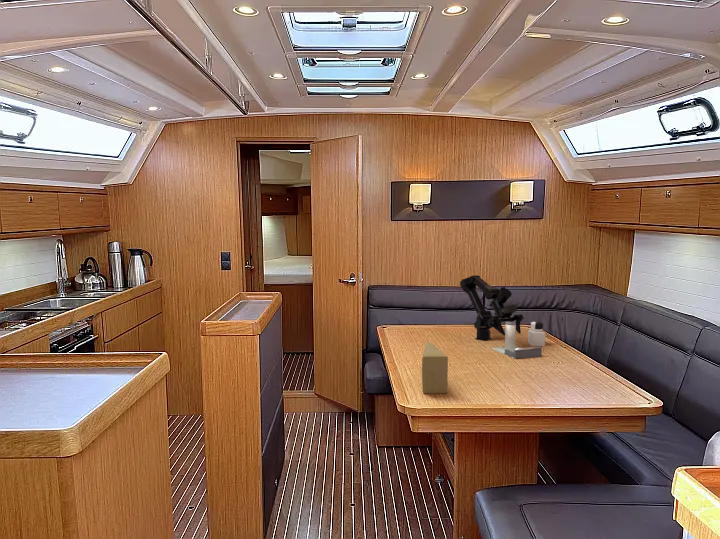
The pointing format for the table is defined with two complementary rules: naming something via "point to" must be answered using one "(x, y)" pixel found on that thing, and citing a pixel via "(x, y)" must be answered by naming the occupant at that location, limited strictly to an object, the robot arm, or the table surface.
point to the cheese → (434, 370)
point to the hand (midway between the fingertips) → (512, 334)
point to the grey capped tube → (510, 335)
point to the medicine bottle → (536, 334)
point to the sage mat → (503, 349)
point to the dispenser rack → (524, 352)
